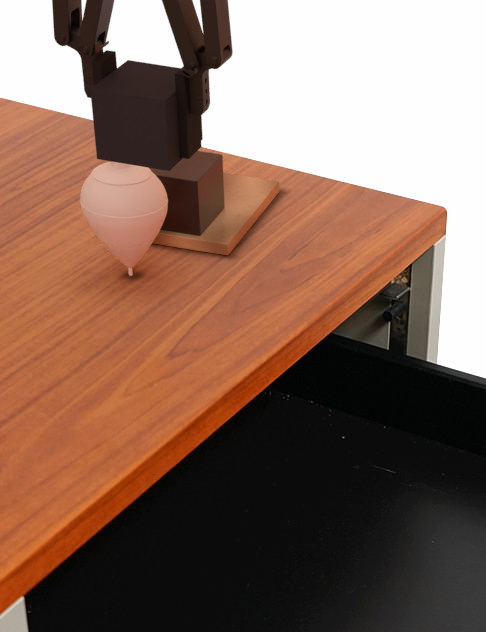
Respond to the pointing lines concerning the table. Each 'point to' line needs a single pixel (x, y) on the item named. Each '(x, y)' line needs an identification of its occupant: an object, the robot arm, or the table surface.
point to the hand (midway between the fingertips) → (150, 145)
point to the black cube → (137, 116)
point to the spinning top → (124, 209)
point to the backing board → (231, 219)
